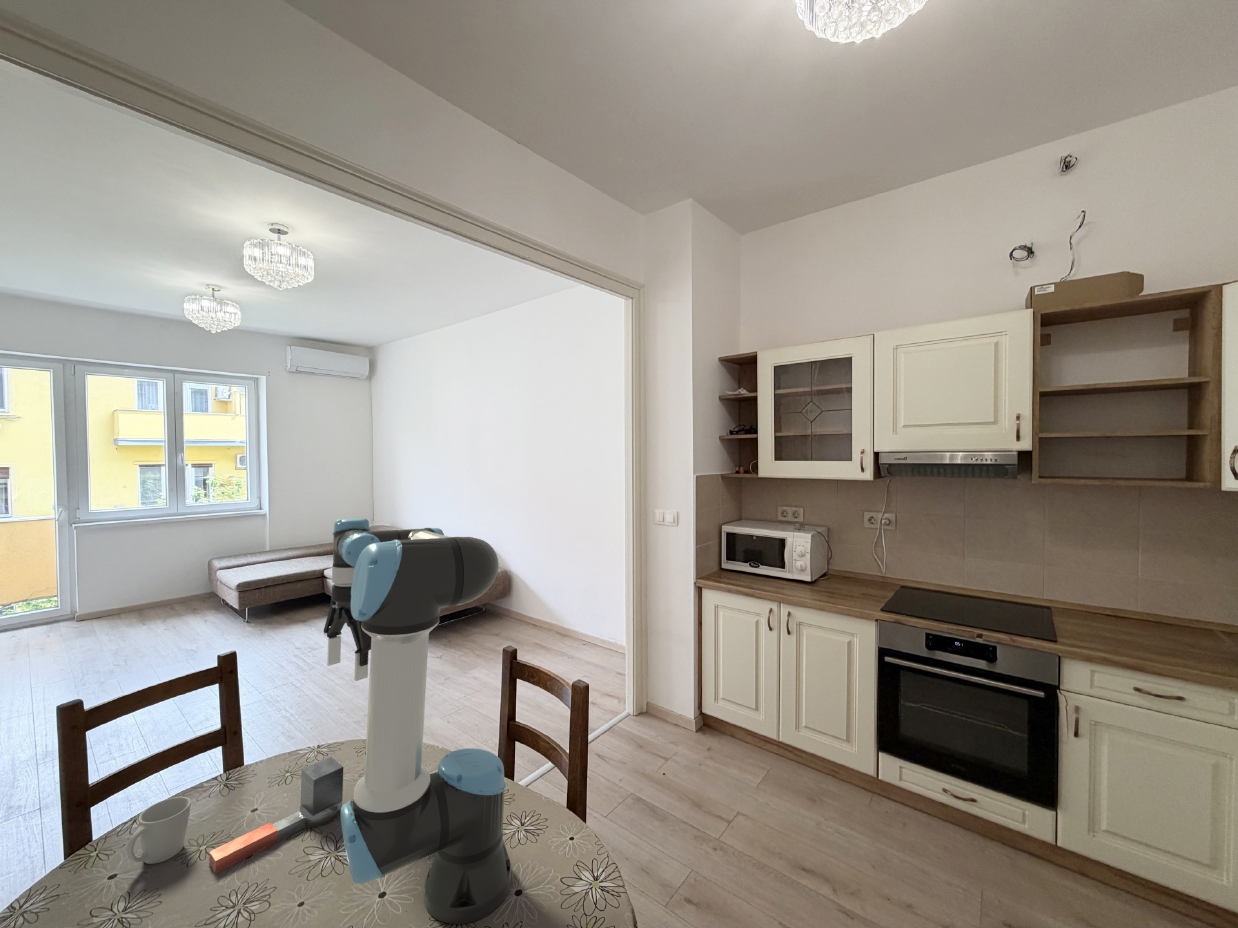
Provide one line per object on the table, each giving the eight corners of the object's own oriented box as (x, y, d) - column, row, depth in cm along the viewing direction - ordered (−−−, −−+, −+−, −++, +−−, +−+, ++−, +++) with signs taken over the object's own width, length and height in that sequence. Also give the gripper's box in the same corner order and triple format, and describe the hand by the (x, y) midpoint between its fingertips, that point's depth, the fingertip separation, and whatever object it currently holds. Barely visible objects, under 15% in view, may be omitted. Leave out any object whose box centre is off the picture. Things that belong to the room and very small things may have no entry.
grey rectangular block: (342, 800, 109) (343, 766, 109) (312, 815, 104) (313, 779, 104) (329, 789, 112) (330, 756, 112) (300, 803, 107) (301, 769, 107)
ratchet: (332, 796, 114) (333, 763, 114) (348, 811, 109) (349, 777, 109) (205, 858, 95) (206, 819, 95) (219, 879, 90) (220, 838, 90)
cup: (199, 841, 99) (201, 798, 99) (145, 882, 89) (147, 834, 90) (167, 836, 100) (169, 794, 101) (110, 875, 91) (112, 829, 91)
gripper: (392, 588, 115) (389, 679, 114) (341, 572, 129) (338, 653, 129) (359, 594, 109) (356, 691, 108) (310, 577, 123) (307, 662, 123)
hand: (347, 671), depth 119 cm, fingers open, 13 cm apart
